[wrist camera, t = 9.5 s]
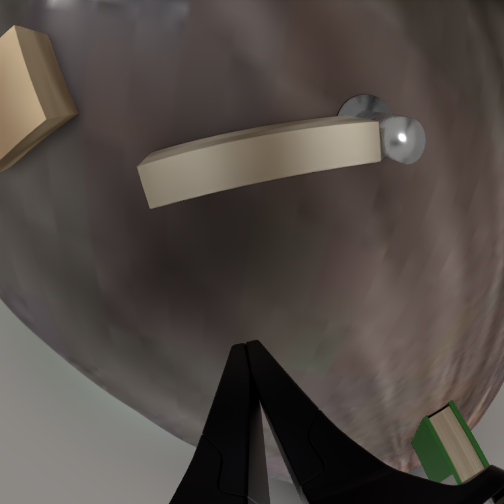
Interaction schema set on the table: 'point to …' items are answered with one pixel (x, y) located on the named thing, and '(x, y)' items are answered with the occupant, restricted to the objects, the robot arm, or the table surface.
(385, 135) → the metal door knob
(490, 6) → the table surface
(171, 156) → the gate rail
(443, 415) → the hardback book
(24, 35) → the oak block
